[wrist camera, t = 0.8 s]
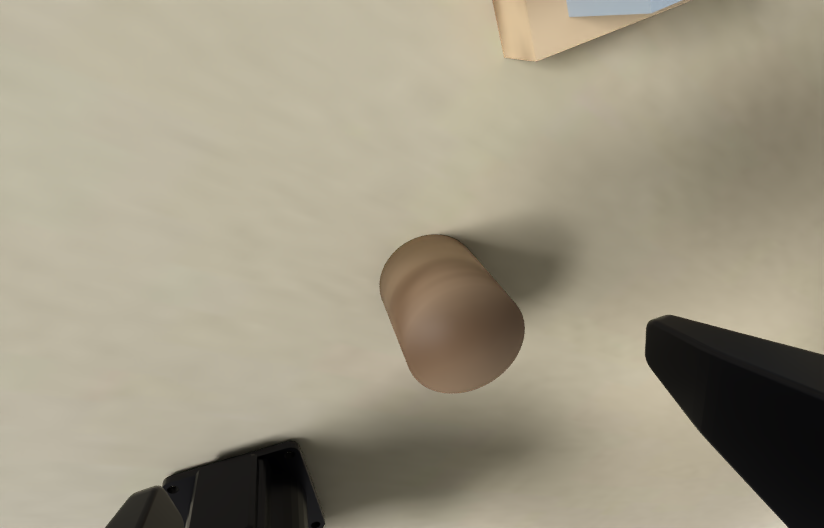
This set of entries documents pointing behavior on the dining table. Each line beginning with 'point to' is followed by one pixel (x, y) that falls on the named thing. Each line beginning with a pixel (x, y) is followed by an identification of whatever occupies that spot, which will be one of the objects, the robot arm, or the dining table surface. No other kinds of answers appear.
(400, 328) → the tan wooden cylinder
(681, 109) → the dining table surface
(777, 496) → the robot arm
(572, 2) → the top block
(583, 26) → the base block
